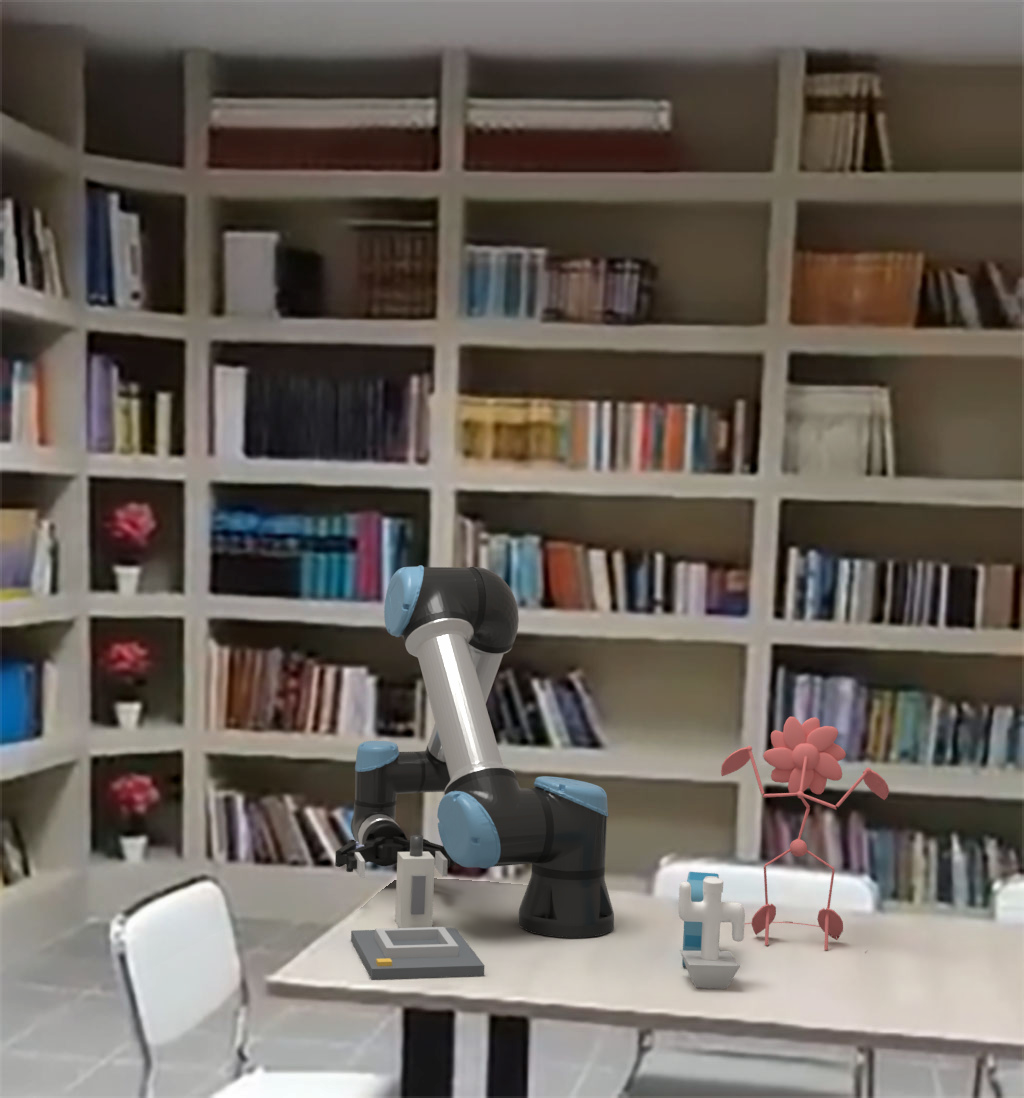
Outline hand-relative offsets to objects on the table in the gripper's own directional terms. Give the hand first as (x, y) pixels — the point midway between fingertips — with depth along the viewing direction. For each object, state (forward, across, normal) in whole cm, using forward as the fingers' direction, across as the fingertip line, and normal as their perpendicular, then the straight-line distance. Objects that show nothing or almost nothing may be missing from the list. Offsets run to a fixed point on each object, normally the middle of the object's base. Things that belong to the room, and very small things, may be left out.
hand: (404, 868), depth 269 cm
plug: (+10, 0, -7) cm, 12 cm away
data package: (+33, -39, -7) cm, 51 cm away
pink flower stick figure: (+23, -59, -7) cm, 64 cm away
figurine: (+45, -36, -7) cm, 58 cm away
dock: (+28, +3, -6) cm, 29 cm away
